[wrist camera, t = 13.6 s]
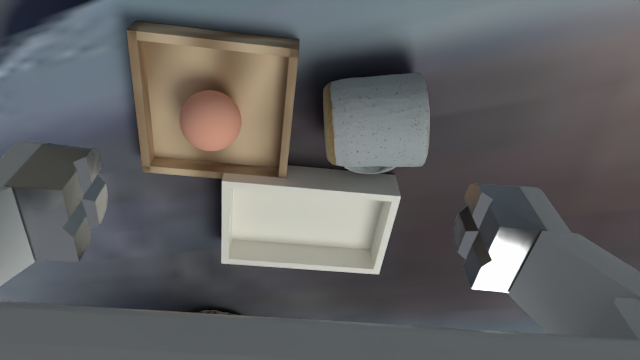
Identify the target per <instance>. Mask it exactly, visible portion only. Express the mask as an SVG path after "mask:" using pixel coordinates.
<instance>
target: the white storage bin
mask: <svg viewBox="0 0 640 360" xmlns="http://www.w3.org/2000/svg"><path fill="white" fill-rule="evenodd" d="M233 165H234V164H233ZM237 165H239V164H237ZM231 166H232V165H231ZM246 166H247V165H246ZM249 166H250V167H251V166H252V165H249ZM249 166H247V167H248V168H249ZM226 167H228V165H227V166H226ZM232 167H233V166H232ZM235 167H236V166H235ZM255 167H256V166H255ZM255 167H254V169H255ZM229 168H230V165H229ZM229 168H228V169H229ZM265 168H266V167H265ZM272 168H275V167H272ZM238 169H240V167H239V168H238ZM244 169H245V168H244ZM246 169H247V168H246ZM254 169H253V170H254ZM263 169H264V168H263ZM266 169H267V168H266ZM268 169H271V167H270V168H268ZM232 170H233V169H232ZM256 170H257V169H256ZM261 170H262V169H261ZM261 170H260V171H261ZM264 170H265V169H264ZM264 170H263V171H264ZM272 170H273V169H272ZM274 170H276V172H277V171H279V170H278V169H274ZM234 171H235V170H234ZM257 171H258V170H257ZM270 171H271V170H270ZM226 172H227V171H226ZM229 172H230V171H229ZM232 172H233V171H232ZM232 172H231V173H224V174H223V178H222V263H224V264H238V265H253V266H267V267H281V268H295V269H310V270H324V271H338V272H352V273H367V274H379V272H380V269H381V265H382V262H383V258H384V254H385V251H386V247H387V244H388V240H389V237H390V233H391V230H392V226H393V223H394V219H395V216H396V212H397V209H398V205H399V202H400V198H401V195H400V191H399V187H398V184H397V180H396V176H395V175H391V174H380V173H378V174H361V173H355V172H352V171H347V170H336V169H325V168H314V167H303V166H291V165H287V174H286V178H278V177H266V176H263V175H262V176H255V175H253V174H252V175H251V173H250V175H244V174H245V173H244V174H243V173H242V174H240V173H239V174H238V173H237V172H235V173H237V174H232ZM238 172H239V171H238ZM263 173H264V172H263ZM271 173H272V172H271ZM248 174H249V172H248ZM261 174H262V173H261ZM261 174H260V175H261ZM275 175H276V174H275Z"/></svg>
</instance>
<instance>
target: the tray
mask: <svg viewBox="0 0 640 360" xmlns="http://www.w3.org/2000/svg"><path fill="white" fill-rule="evenodd" d="M127 39H128V48H129V56H130V65H131V74H132V82H133V91H134V100H135V108H136V117H137V126H138V134H139V143H140V152H141V160H142V169H143V172H149V173H161V174H172V175H184V176H195V177H207V178H218V179H222V178H223V174H224V173H231V172H232V171H233V172H232V174H237V173H238V174H239V173H240V174H242V173H243V174H244V173H245V174H244V175H250V173H251V175H252V174H253V175H255V176H262V175H263V176H266V177H278V178H286V174H287V164H288V154H289V144H290V134H291V124H292V114H293V104H294V95H295V85H296V75H297V65H298V55H299V40H295V39H286V38H278V37H269V36H260V35H252V34H243V33H234V32H226V31H217V30H208V29H200V28H191V27H182V26H173V25H165V24H156V23H147V22H139V21H135V22H134V23H133V24H132V25H131V26H130V27H129V28H128V29H127ZM206 90H213V91H218V92H221V93H224V94H225V95H227V96H229V97H230V98H231V99H232V100H233V101H234V102H235V103H236V105H237V106H238V108H239V111H240V114H241V129H240V132H239V135H238V136H237V138H236V140H235V141H234V142H233V143H232V144H231V145H229V146H228V147H226V148H224V149H221V150H218V151H205V150H201V149H199V148H196V147H195V146H193V145H192V144H191V143H189V142H188V140H187V139H186V138H185V137H184V135H183V133H182V131H181V128H180V122H179V117H180V112H181V109H182V107H183V105H184V103H185V102H186V101H187V100H188V99H189V98H190V97H191V96H192V95H194V94H196V93H198V92H201V91H206ZM233 164H234V165H233ZM237 164H239V165H237ZM227 165H228V167H226V166H227ZM229 165H230V168H229ZM231 165H232V166H233V167H232V166H231ZM246 165H247V166H249V165H252V166H251V167H250V166H249V168H248V167H247V166H246ZM235 166H236V167H235ZM255 166H256V167H255ZM239 167H240V169H238V168H239ZM254 167H255V169H254ZM265 167H266V168H267V169H266V168H265ZM270 167H271V169H268V168H270ZM272 167H275V168H272ZM228 168H229V169H228ZM244 168H245V169H244ZM246 168H247V169H246ZM263 168H264V169H265V170H264V169H263ZM232 169H233V170H232ZM253 169H254V170H253ZM256 169H257V170H258V171H257V170H256ZM261 169H262V170H261ZM272 169H273V170H272ZM274 169H278V170H279V171H277V172H276V170H274ZM234 170H235V171H234ZM260 170H261V171H260ZM263 170H264V171H263ZM270 170H271V171H270ZM226 171H227V172H226ZM229 171H230V172H229ZM238 171H239V172H238ZM235 172H237V173H235ZM248 172H249V174H248ZM263 172H264V173H263ZM271 172H272V173H271ZM261 173H262V174H261ZM260 174H261V175H260ZM275 174H276V175H275Z"/></svg>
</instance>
